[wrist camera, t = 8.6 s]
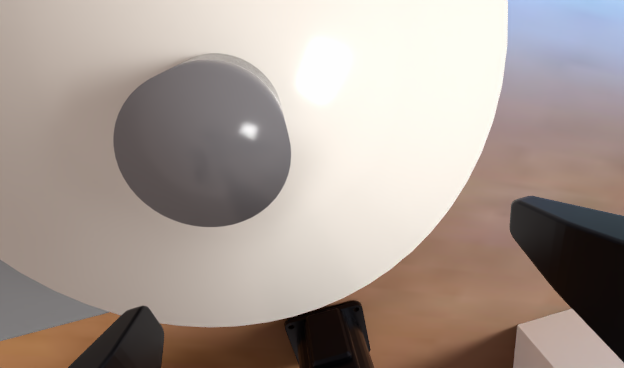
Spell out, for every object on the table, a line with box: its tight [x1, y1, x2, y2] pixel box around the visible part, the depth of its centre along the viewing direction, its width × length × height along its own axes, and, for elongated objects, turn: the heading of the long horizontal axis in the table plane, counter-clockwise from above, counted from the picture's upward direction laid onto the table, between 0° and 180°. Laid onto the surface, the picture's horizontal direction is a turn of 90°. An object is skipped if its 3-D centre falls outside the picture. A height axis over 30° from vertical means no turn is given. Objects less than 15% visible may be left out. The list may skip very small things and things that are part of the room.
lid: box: [0, 0, 508, 327], centre depth 9 cm, size 20×20×4 cm
